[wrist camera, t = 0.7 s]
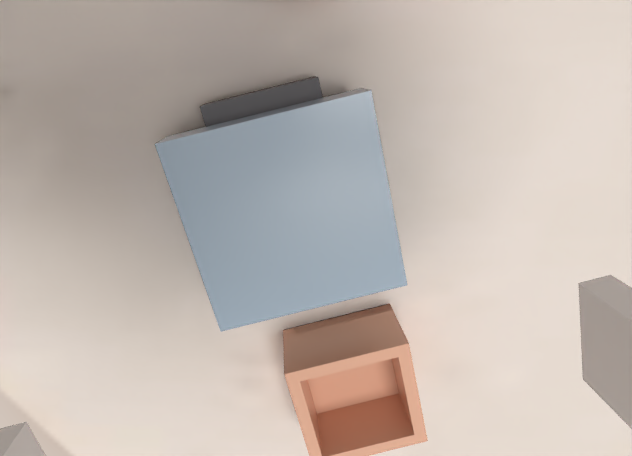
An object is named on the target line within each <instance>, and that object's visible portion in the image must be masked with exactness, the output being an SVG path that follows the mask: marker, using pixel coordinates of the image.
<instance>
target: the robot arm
mask: <svg viewBox="0 0 632 456" xmlns="http://www.w3.org/2000/svg"><path fill="white" fill-rule="evenodd" d="M579 304H580V327H581V349H582V372H583V380H584V381H585V382H586V383H587V384H588V385H589V386H590V387H591V388H592V389H593V390H594V391H595V392H596V393H597V394H598V395H599V396H600V397H601V398H602V399H603V400H604V401H605V402H606V403H607V404H608V405H609V406H610V407H611V408H612V409H613V410H614V411H615V412H616V413H617V414H618V416H619V417H620V418H621V419H622V420H623V421H624V422H625V423H626V424H627V425H628V426H629V427H630V428H631V429H632V288H631V287H629V286H628V285H626V284H625V283H623V282H621V281H620V280H618V279H616V278H615V277H613V276H612V275H609V276H605V277H601V278H597V279H593V280H589V281H585V282H581V283H579ZM0 456H46V455H45V453H44V451H43V450H42V448H41V446H40V444H39V443H38V441H37V439H36V438H35V436H34V434H33V432H32V431H31V429H30V427H29V425H28V424H27V422H24V423H20V424H16V425H12V426H8V427H4V428H1V429H0Z"/></svg>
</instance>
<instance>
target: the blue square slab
mask: <svg viewBox="0 0 632 456" xmlns="http://www.w3.org/2000/svg"><path fill="white" fill-rule="evenodd" d="M155 146H156V149H157V152H158V155H159V158H160V161H161V163H162V166H163V169H164V172H165V175H166V178H167V180H168V183H169V186H170V189H171V192H172V195H173V197H174V200H175V203H176V206H177V209H178V212H179V214H180V217H181V220H182V223H183V226H184V229H185V232H186V234H187V237H188V240H189V243H190V246H191V249H192V251H193V254H194V257H195V260H196V263H197V266H198V268H199V271H200V274H201V277H202V280H203V283H204V285H205V288H206V291H207V294H208V297H209V300H210V302H211V305H212V308H213V311H214V314H215V317H216V319H217V322H218V325H219V328H220V331H225V330H229V329H233V328H237V327H241V326H245V325H249V324H253V323H257V322H261V321H265V320H269V319H273V318H277V317H281V316H285V315H289V314H293V313H297V312H301V311H305V310H309V309H313V308H318V307H322V306H326V305H330V304H334V303H338V302H342V301H346V300H350V299H354V298H358V297H362V296H366V295H370V294H374V293H378V292H382V291H386V290H390V289H394V288H398V287H402V286H406V285H407V281H406V275H405V270H404V264H403V259H402V254H401V248H400V243H399V237H398V232H397V227H396V221H395V216H394V210H393V205H392V199H391V194H390V189H389V183H388V178H387V172H386V167H385V162H384V156H383V151H382V145H381V140H380V135H379V129H378V124H377V118H376V113H375V108H374V102H373V97H372V91H371V90H368V89H364V88H360V89H356V90H352V91H348V92H343V93H339V94H335V95H331V96H327V97H323V98H319V99H315V100H311V101H307V102H303V103H299V104H295V105H291V106H287V107H283V108H279V109H275V110H271V111H267V112H263V113H259V114H255V115H251V116H247V117H243V118H239V119H235V120H231V121H227V122H223V123H219V124H215V125H211V126H207V127H203V128H199V129H195V130H191V131H187V132H183V133H179V134H175V135H171V136H167V137H165V138H164V139H162V140H161V141H159V142H157V143H156V144H155Z"/></svg>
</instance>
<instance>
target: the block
mask: <svg viewBox="0 0 632 456" xmlns="http://www.w3.org/2000/svg"><path fill="white" fill-rule="evenodd" d="M319 98H323V97H322V92H321V88H320V83H319V79H318V77H311V78H307V79H303V80H299V81H295V82H291V83H287V84H283V85H279V86H274V87H270V88H266V89H262V90H258V91H254V92H250V93H246V94H242V95H238V96H234V97H230V98H226V99H222V100H218V101H214V102H210V103H206V104H204V105H202V106H200V109H201V112H202V116H203V119H204V122H205V125H206V127H207V126H211V125H215V124H219V123H223V122H227V121H231V120H235V119H239V118H243V117H247V116H251V115H255V114H259V113H263V112H267V111H271V110H275V109H279V108H283V107H287V106H291V105H295V104H299V103H303V102H307V101H311V100H315V99H319Z"/></svg>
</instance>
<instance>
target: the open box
mask: <svg viewBox="0 0 632 456" xmlns="http://www.w3.org/2000/svg"><path fill="white" fill-rule="evenodd" d="M283 344H284V375H285V378H286V382H287V385H288V388H289V391H290V394H291V398H292V401H293V404H294V407H295V411H296V414H297V417H298V420H299V423H300V427H301V430H302V433H303V436H304V440H305V443H306V446H307V449H308V453H309V456H369V455H373V454H377V453H381V452H385V451H389V450H393V449H397V448H401V447H405V446H409V445H413V444H417V443H421V442H425V441H428V440H427V435H426V430H425V425H424V419H423V414H422V409H421V404H420V399H419V394H418V388H417V383H416V378H415V373H414V368H413V363H412V357H411V352H410V347H409V343H408V341H407V339H406V336H405V334H404V332H403V330H402V328H401V326H400V324H399V322H398V320H397V318H396V316H395V314H394V312H393V309H392V307H391V305H390V304H387V305H383V306H379V307H375V308H371V309H367V310H363V311H359V312H355V313H351V314H347V315H343V316H339V317H335V318H331V319H327V320H323V321H319V322H315V323H311V324H307V325H303V326H299V327H295V328H291V329H287V330H283Z"/></svg>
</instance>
